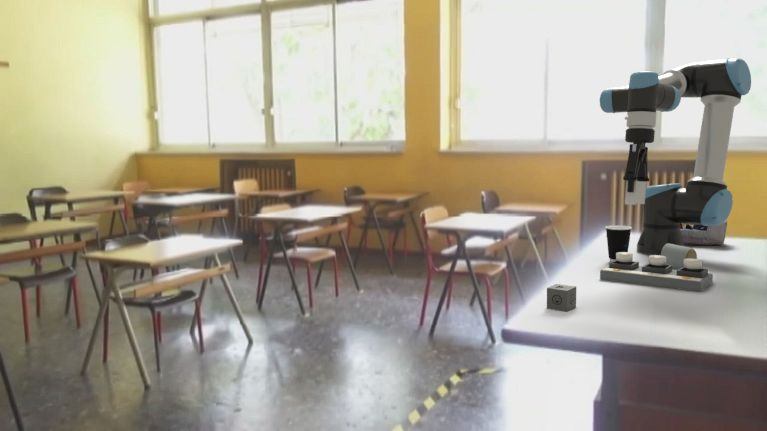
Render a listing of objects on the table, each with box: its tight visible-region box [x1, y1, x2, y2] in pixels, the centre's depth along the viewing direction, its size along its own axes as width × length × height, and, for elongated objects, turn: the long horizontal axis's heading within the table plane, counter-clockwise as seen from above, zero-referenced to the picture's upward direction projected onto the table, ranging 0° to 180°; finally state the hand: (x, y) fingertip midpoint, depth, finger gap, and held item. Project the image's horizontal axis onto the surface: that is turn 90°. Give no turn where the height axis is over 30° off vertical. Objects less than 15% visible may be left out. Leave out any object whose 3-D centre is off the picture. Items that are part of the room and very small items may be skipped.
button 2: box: [683, 258, 703, 269], centre depth 171 cm, size 4×4×2 cm
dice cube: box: [546, 283, 577, 313], centre depth 150 cm, size 5×5×5 cm
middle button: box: [648, 255, 666, 265], centre depth 177 cm, size 4×4×2 cm
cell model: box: [680, 219, 728, 246], centre depth 234 cm, size 13×11×20 cm
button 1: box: [616, 251, 634, 262], centre depth 182 cm, size 4×4×2 cm
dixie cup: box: [605, 225, 633, 263], centre depth 204 cm, size 8×8×11 cm
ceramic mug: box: [660, 243, 698, 270], centre depth 190 cm, size 11×8×8 cm
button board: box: [599, 260, 714, 292], centre depth 176 cm, size 12×26×4 cm, turn 51°
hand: (634, 204), depth 181 cm, fingers open, 13 cm apart
